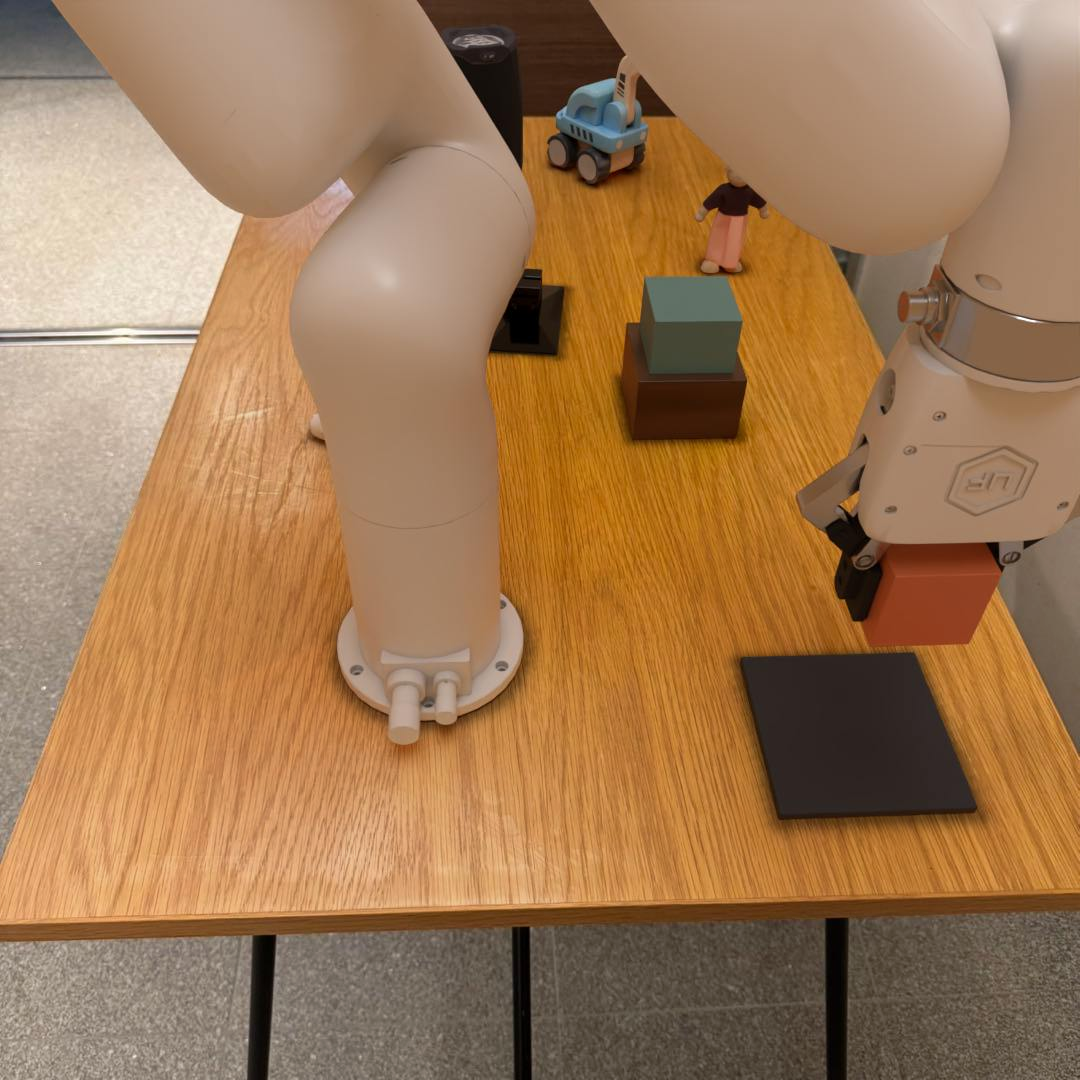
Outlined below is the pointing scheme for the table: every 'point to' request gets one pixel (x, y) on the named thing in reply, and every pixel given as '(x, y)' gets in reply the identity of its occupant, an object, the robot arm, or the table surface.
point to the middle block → (689, 325)
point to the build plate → (530, 318)
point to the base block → (679, 398)
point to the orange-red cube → (931, 594)
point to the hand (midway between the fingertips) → (907, 598)
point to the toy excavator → (601, 127)
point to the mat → (853, 737)
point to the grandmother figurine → (729, 222)
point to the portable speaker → (492, 76)
